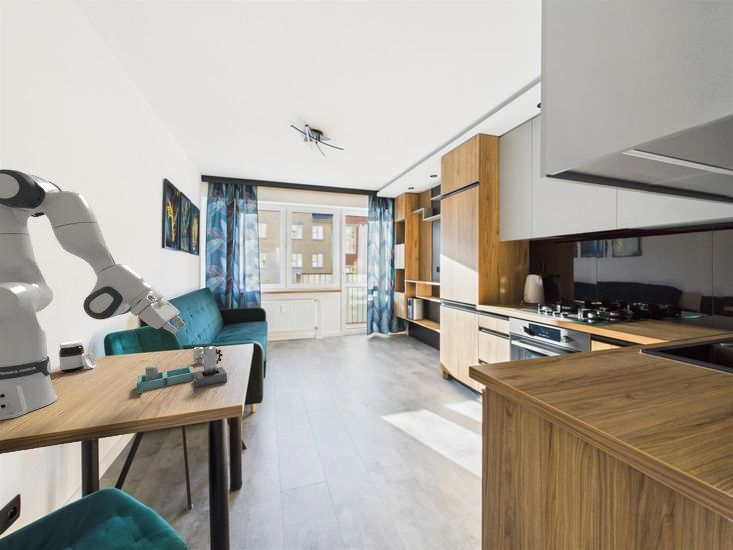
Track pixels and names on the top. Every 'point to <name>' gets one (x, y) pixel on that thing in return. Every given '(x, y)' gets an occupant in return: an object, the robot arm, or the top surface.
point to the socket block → (210, 378)
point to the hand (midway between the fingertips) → (180, 329)
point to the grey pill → (209, 360)
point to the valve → (199, 355)
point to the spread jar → (74, 357)
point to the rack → (163, 377)
